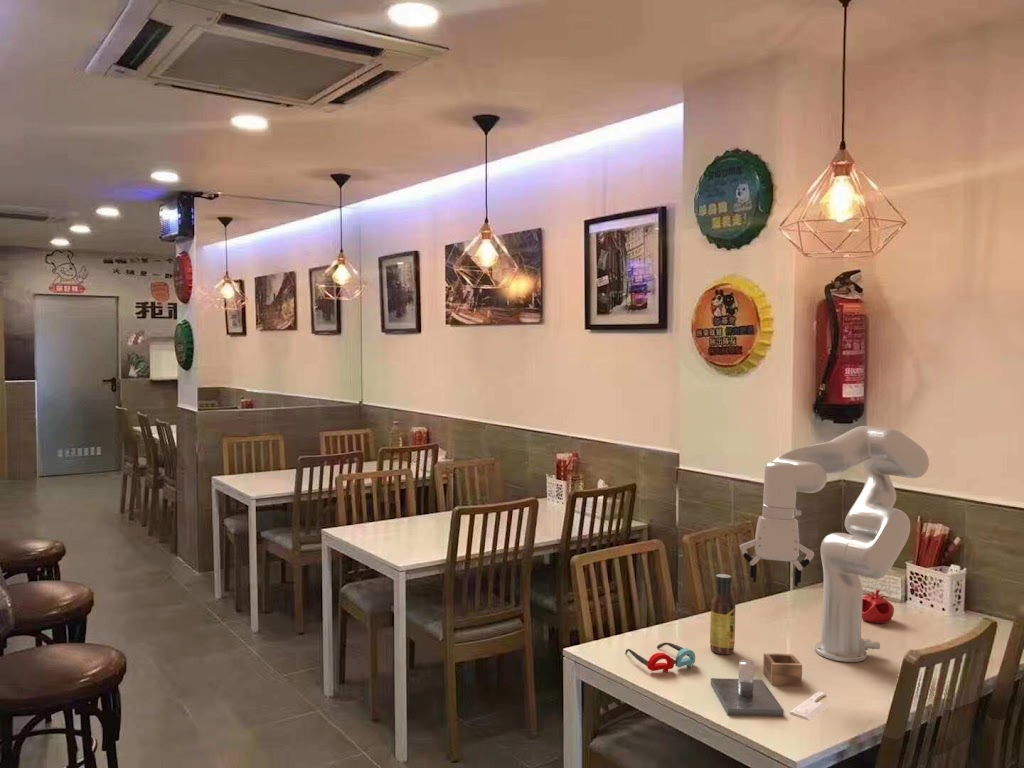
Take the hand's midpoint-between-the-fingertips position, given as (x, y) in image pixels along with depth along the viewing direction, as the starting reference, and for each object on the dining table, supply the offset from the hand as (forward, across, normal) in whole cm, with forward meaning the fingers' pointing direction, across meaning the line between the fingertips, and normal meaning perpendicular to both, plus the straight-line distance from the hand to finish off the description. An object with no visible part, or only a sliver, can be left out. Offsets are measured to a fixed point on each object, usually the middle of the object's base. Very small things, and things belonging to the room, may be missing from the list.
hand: (774, 582), depth 196 cm
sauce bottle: (+23, +11, -13) cm, 28 cm away
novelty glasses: (+24, +27, -1) cm, 36 cm away
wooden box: (+22, -3, +2) cm, 23 cm away
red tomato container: (+21, -33, -52) cm, 65 cm away
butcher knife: (+23, -9, +16) cm, 29 cm away
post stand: (+23, +6, +17) cm, 29 cm away
